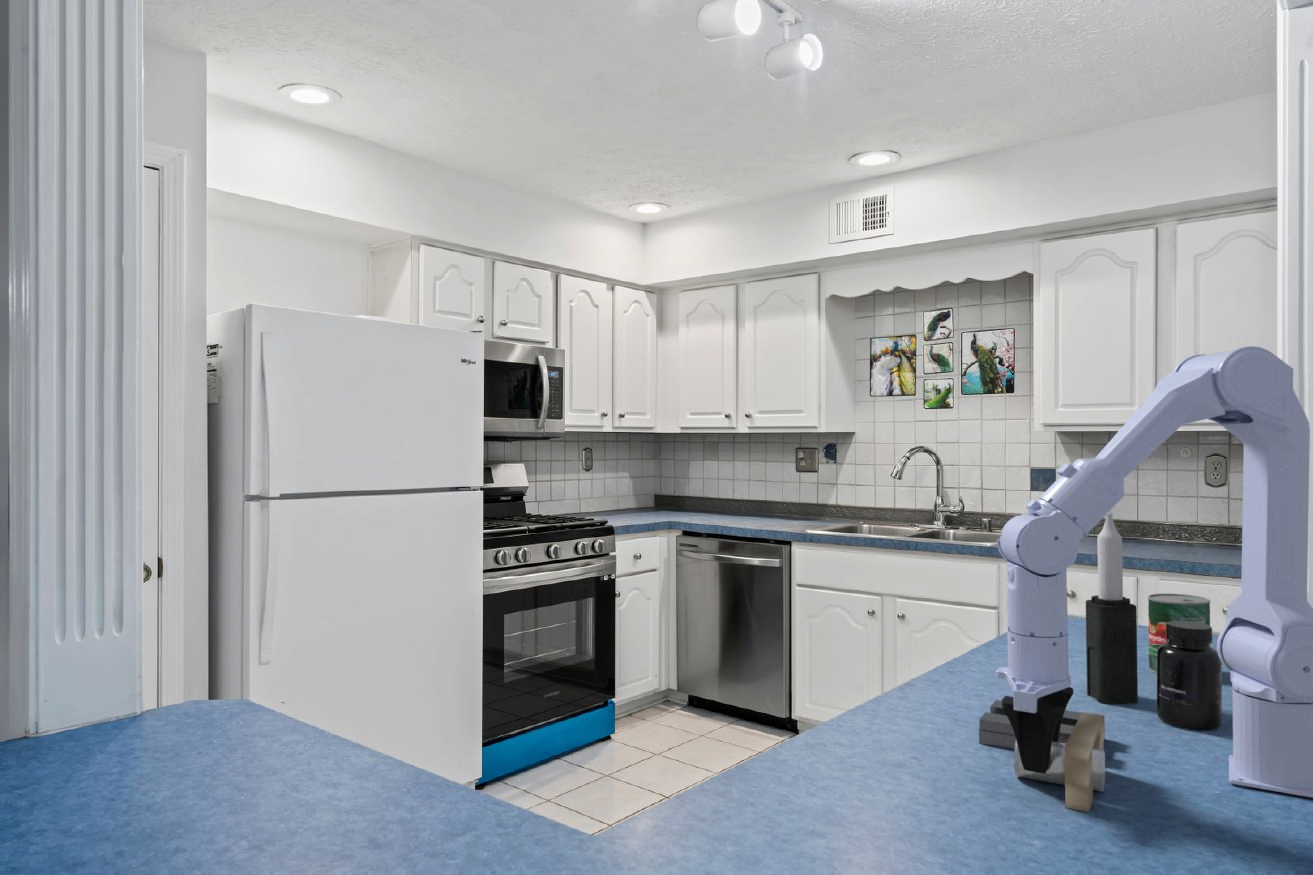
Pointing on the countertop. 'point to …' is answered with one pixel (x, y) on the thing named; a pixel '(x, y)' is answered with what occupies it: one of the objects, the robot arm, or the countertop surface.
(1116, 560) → the candle
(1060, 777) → the silver metal cylinder
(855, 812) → the countertop surface
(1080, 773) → the beam
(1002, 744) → the v block
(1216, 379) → the robot arm
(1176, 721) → the supplement bottle
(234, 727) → the countertop surface
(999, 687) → the countertop surface
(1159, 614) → the canned tomato
